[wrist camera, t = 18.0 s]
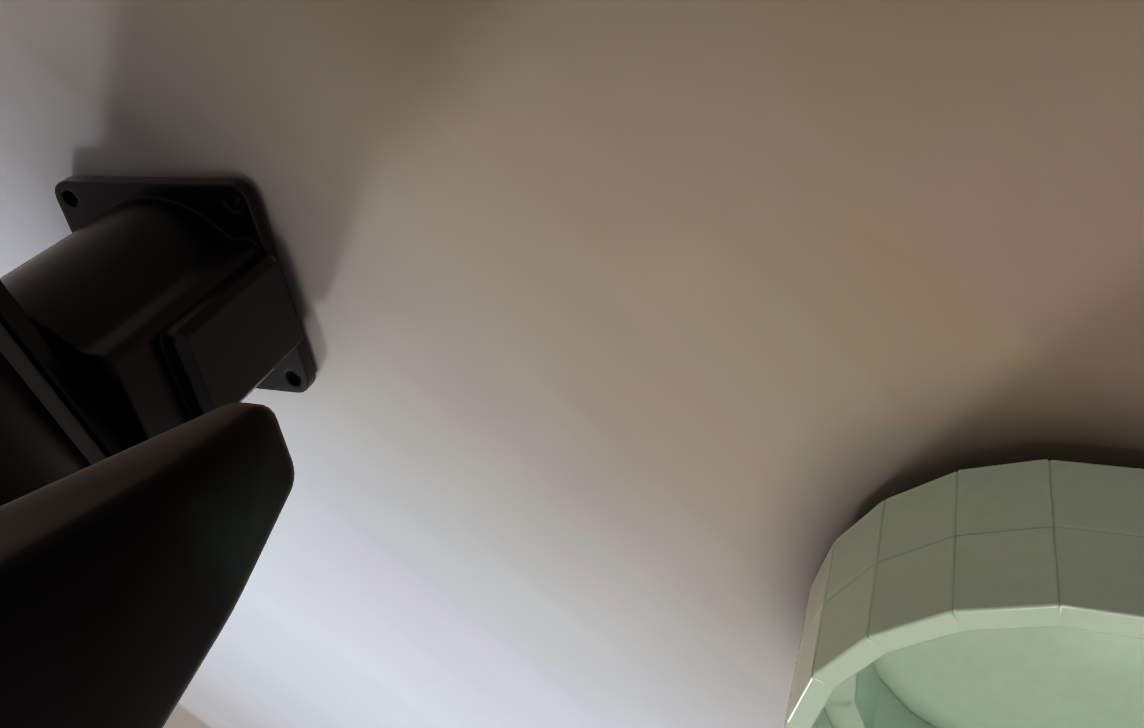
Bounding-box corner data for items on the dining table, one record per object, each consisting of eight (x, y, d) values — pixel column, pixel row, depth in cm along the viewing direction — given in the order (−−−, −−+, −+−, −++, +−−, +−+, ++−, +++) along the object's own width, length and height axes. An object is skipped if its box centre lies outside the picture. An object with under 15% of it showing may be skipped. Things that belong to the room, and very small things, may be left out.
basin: (812, 733, 30) (786, 888, 27) (814, 418, 24) (781, 563, 20) (1276, 827, 26) (1326, 1026, 22) (1434, 477, 20) (1543, 674, 16)
